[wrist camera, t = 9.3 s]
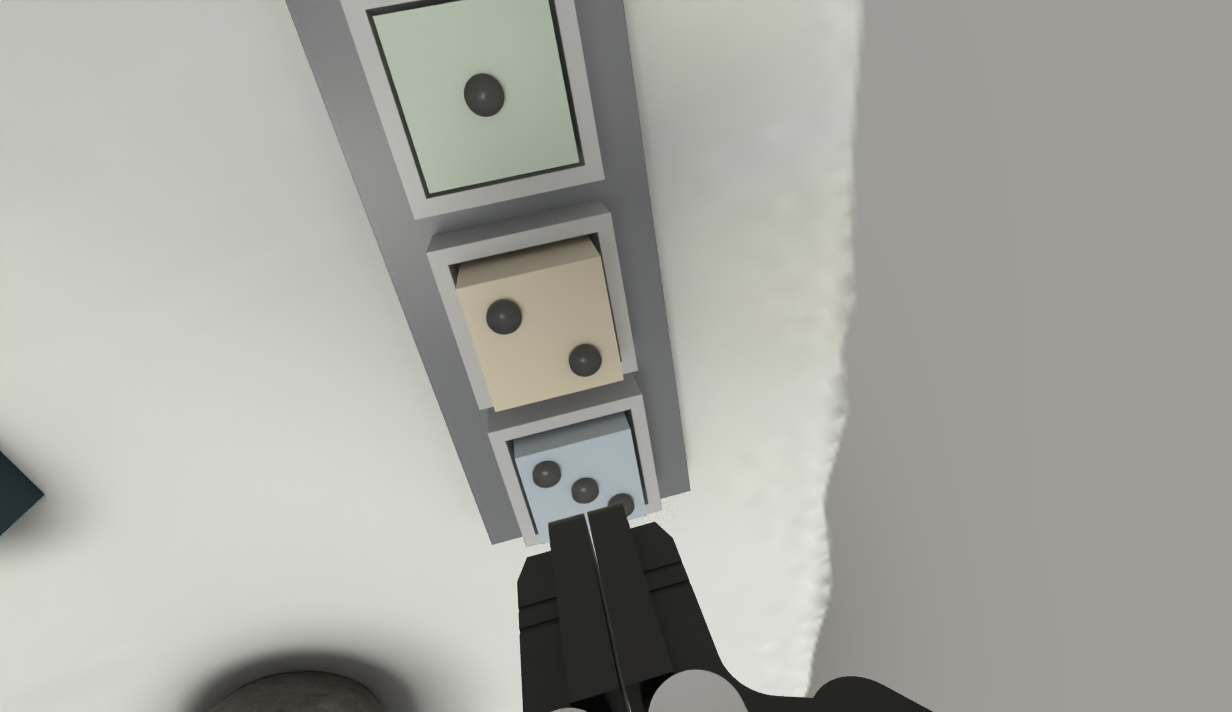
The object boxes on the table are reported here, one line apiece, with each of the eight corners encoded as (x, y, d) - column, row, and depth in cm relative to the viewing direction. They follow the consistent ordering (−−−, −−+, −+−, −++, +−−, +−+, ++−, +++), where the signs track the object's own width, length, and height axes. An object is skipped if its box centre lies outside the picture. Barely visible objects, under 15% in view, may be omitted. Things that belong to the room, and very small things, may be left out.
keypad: (287, -37, 19) (234, -67, 15) (598, -88, 20) (624, -129, 16) (492, 518, 31) (492, 582, 27) (679, 468, 32) (705, 522, 28)
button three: (512, 414, 26) (514, 463, 23) (614, 388, 27) (631, 432, 24) (536, 494, 29) (542, 548, 25) (630, 469, 29) (648, 519, 26)
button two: (460, 259, 22) (455, 292, 18) (585, 231, 22) (602, 258, 19) (495, 369, 24) (495, 416, 21) (607, 342, 25) (625, 383, 21)
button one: (392, 26, 19) (370, 15, 16) (536, 0, 19) (546, -16, 16) (438, 176, 21) (428, 195, 18) (566, 150, 22) (580, 163, 18)
